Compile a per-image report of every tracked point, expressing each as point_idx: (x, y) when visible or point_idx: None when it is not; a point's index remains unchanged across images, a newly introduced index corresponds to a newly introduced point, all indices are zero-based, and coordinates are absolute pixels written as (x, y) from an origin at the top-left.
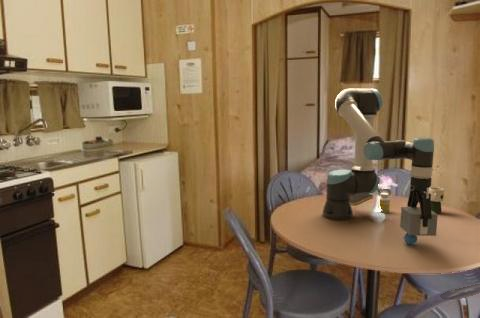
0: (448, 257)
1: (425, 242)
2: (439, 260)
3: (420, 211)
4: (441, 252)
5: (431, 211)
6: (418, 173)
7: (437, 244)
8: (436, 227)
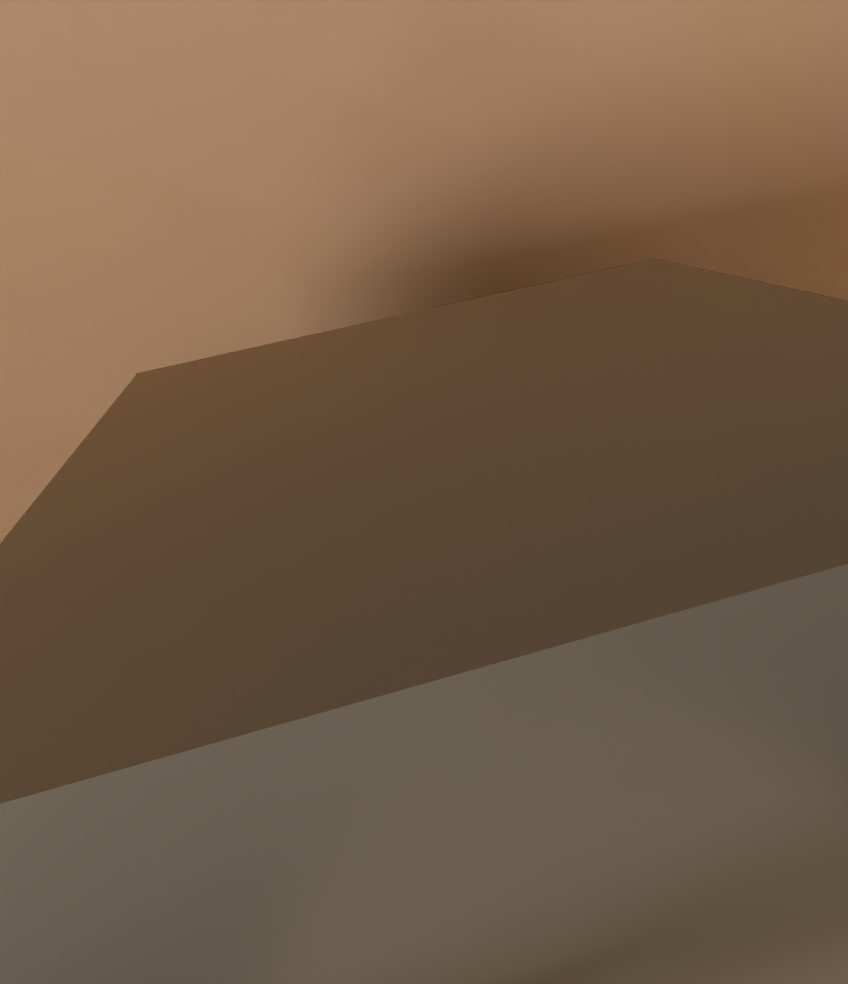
0: (783, 120)
1: (307, 310)
2: (838, 269)
3: (755, 934)
4: (636, 168)
5: (827, 639)
6: None
7: (340, 131)
8: (777, 291)
